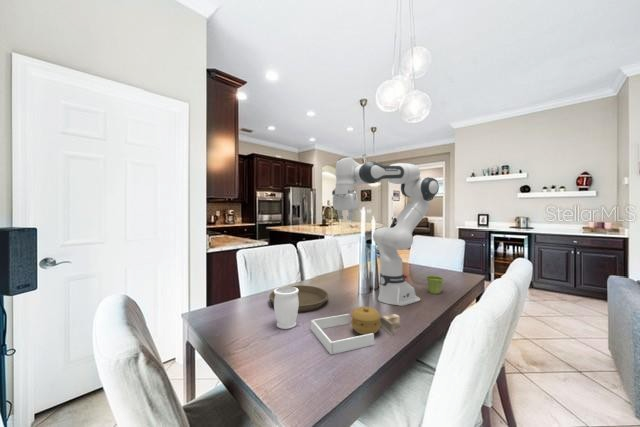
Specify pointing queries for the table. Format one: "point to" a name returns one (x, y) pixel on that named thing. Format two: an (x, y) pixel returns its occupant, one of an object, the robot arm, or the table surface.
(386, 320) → the scraper
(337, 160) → the robot arm
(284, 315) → the jar
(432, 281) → the plant pot
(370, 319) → the pot
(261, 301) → the table surface
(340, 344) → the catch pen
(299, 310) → the plant saucer
